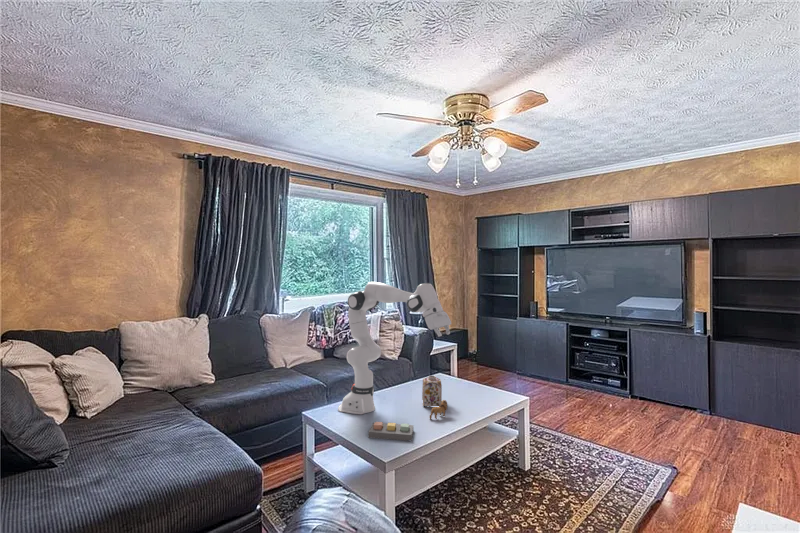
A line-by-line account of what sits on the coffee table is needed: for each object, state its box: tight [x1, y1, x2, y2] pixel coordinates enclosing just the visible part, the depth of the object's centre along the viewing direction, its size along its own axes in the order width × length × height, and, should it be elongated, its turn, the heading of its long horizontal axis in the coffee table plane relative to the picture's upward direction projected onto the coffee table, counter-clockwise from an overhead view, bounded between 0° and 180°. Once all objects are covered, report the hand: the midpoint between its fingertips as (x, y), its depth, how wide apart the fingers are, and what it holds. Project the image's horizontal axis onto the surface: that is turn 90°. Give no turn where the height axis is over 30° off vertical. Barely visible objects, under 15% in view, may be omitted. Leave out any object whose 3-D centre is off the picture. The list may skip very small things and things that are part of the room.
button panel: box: [367, 422, 414, 441], centre depth 204 cm, size 22×12×3 cm, turn 83°
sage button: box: [400, 422, 410, 432], centre depth 203 cm, size 4×4×4 cm
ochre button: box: [387, 422, 397, 431], centre depth 204 cm, size 4×4×4 cm
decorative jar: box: [421, 375, 443, 407], centre depth 249 cm, size 12×12×18 cm
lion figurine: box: [429, 399, 448, 421], centre depth 227 cm, size 15×5×9 cm, turn 137°
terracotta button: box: [373, 421, 384, 430], centre depth 205 cm, size 4×4×4 cm
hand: (444, 335), depth 206 cm, fingers open, 8 cm apart
